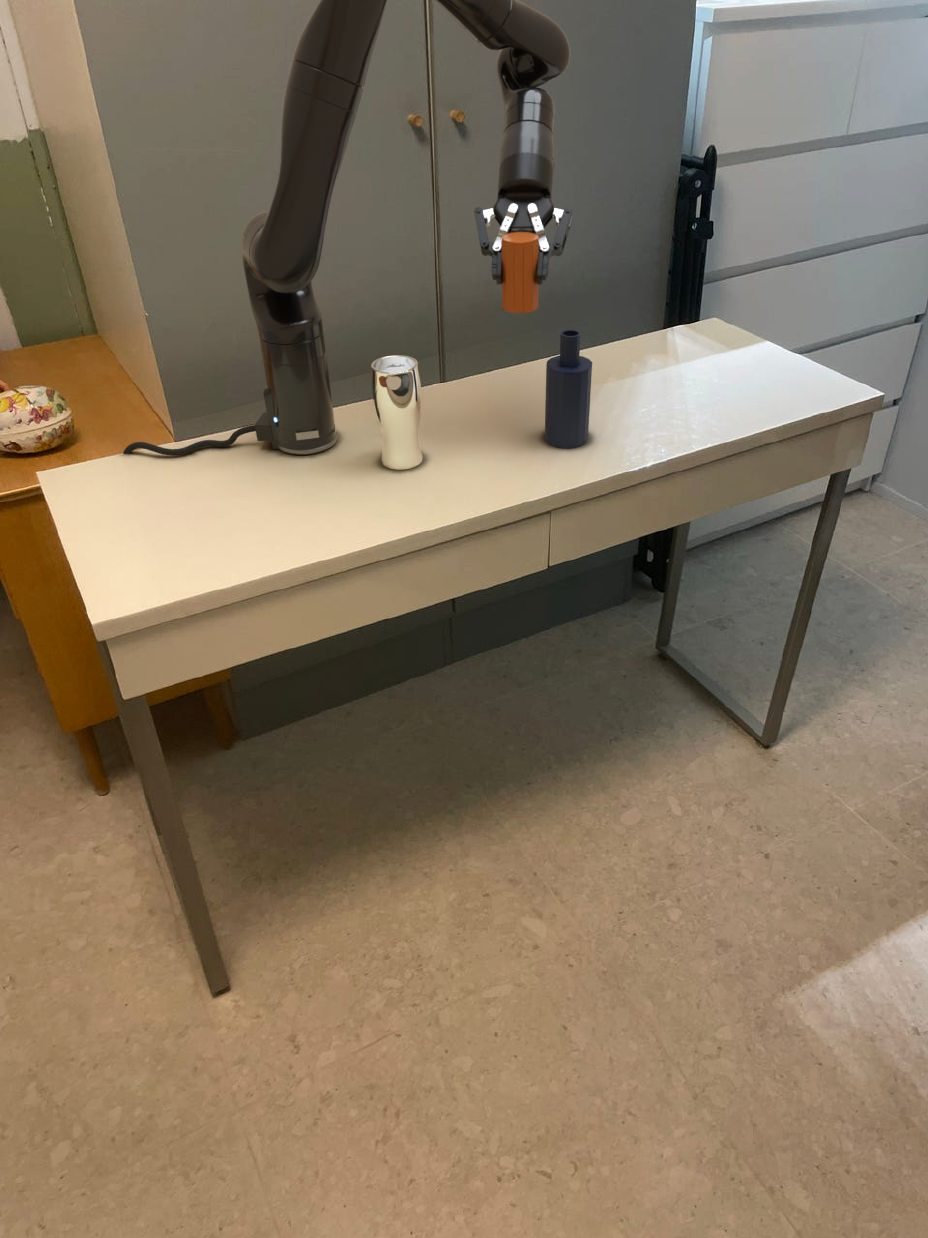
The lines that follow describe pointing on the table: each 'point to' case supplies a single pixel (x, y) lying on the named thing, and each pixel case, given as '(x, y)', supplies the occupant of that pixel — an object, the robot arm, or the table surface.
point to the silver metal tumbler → (398, 409)
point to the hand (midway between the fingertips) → (519, 281)
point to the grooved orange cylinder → (519, 272)
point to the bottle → (568, 394)
